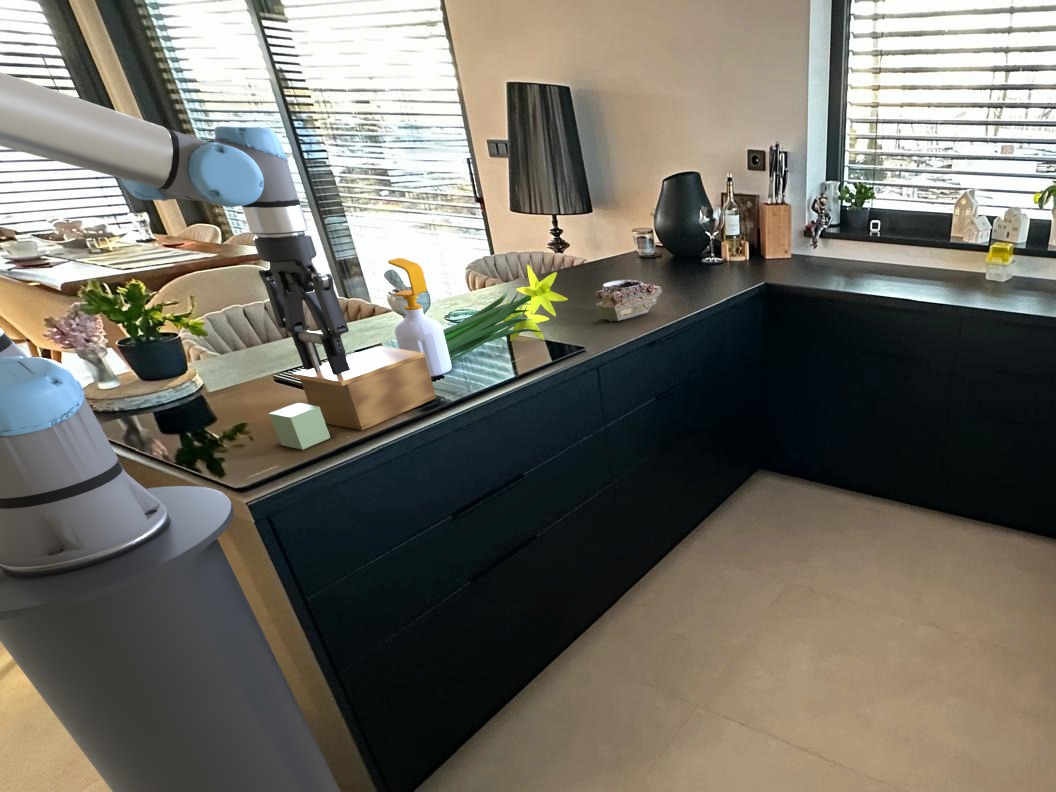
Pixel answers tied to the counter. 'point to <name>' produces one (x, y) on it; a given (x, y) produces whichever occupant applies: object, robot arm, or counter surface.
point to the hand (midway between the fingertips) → (327, 369)
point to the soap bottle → (420, 323)
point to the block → (299, 425)
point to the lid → (353, 362)
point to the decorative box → (626, 299)
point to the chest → (372, 395)
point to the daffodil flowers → (503, 317)
